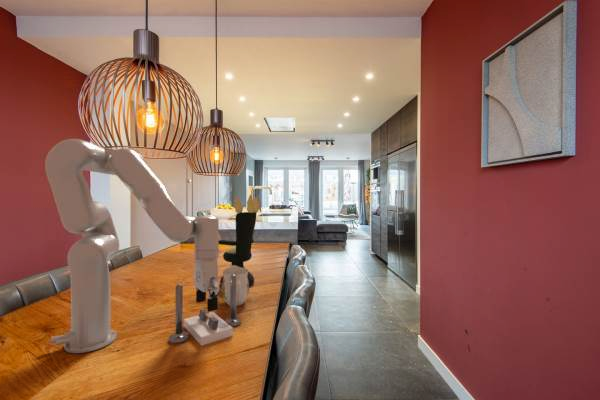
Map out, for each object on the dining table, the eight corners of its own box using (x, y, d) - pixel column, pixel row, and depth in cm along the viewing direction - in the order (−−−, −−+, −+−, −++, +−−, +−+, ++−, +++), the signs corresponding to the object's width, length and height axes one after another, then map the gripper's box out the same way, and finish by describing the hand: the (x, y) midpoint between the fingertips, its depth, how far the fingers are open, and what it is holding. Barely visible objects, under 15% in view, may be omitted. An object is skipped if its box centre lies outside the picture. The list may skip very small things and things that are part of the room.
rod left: (171, 346, 85) (172, 288, 85) (166, 338, 89) (166, 283, 89) (191, 340, 88) (191, 284, 88) (185, 333, 93) (185, 280, 93)
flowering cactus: (243, 276, 158) (244, 193, 157) (269, 285, 142) (270, 194, 142) (211, 283, 145) (212, 193, 144) (236, 294, 129) (236, 193, 128)
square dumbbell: (212, 329, 89) (213, 321, 90) (198, 316, 99) (200, 309, 99) (217, 328, 90) (218, 320, 91) (203, 316, 100) (204, 309, 100)
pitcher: (224, 314, 108) (224, 277, 108) (219, 298, 125) (219, 266, 124) (253, 310, 112) (254, 274, 112) (245, 295, 129) (245, 264, 128)
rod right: (229, 328, 96) (229, 277, 96) (222, 322, 101) (222, 274, 100) (244, 324, 100) (244, 274, 100) (236, 318, 104) (236, 271, 104)
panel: (201, 345, 85) (201, 337, 85) (184, 326, 98) (184, 318, 98) (232, 335, 91) (232, 327, 91) (212, 318, 104) (212, 311, 104)
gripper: (186, 251, 99) (186, 301, 100) (205, 260, 86) (205, 317, 86) (207, 248, 104) (207, 296, 104) (229, 256, 91) (229, 311, 91)
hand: (206, 305), depth 95 cm, fingers open, 9 cm apart
